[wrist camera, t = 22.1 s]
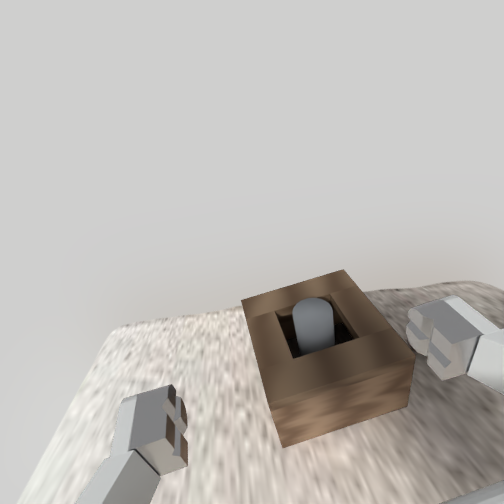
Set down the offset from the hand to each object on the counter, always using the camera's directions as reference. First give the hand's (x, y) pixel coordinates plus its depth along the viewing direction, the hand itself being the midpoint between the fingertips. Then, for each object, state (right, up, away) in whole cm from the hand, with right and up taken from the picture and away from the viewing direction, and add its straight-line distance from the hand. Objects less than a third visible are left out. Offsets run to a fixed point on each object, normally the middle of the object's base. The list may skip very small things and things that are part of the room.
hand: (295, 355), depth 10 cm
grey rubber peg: (+8, -14, +32) cm, 36 cm away
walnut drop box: (+8, -14, +32) cm, 36 cm away
